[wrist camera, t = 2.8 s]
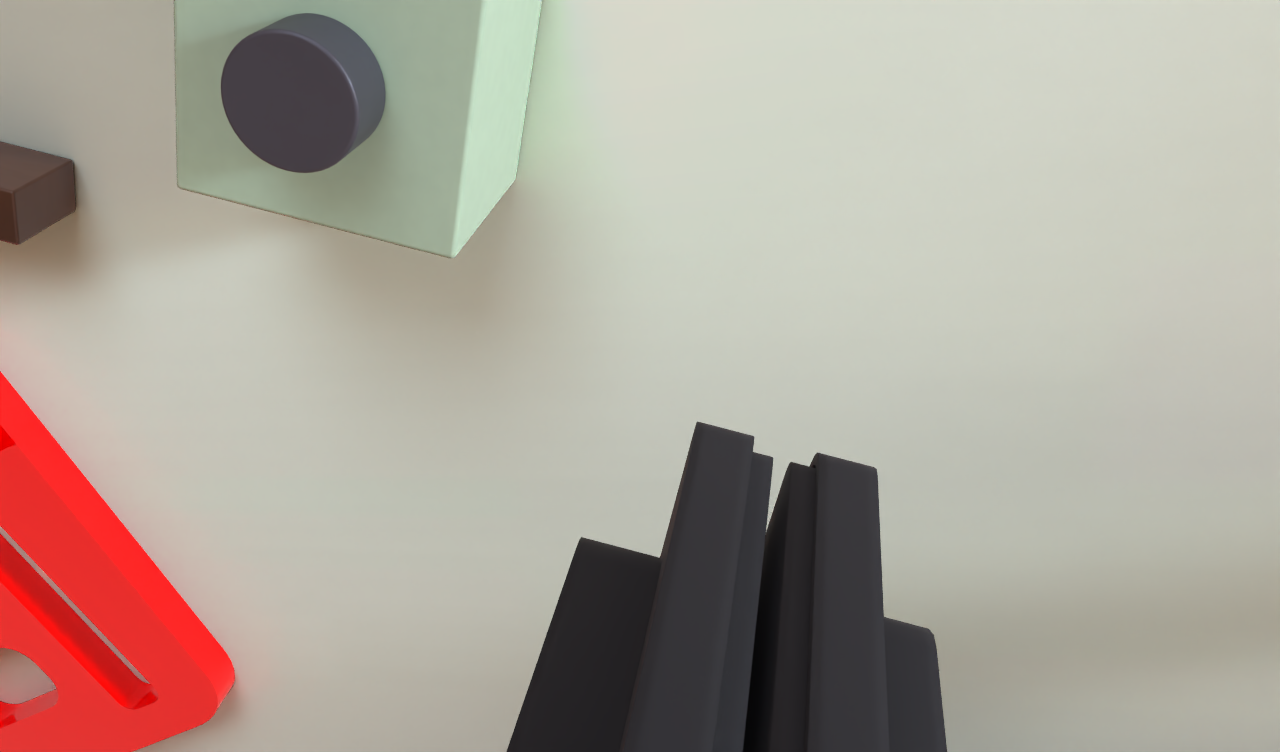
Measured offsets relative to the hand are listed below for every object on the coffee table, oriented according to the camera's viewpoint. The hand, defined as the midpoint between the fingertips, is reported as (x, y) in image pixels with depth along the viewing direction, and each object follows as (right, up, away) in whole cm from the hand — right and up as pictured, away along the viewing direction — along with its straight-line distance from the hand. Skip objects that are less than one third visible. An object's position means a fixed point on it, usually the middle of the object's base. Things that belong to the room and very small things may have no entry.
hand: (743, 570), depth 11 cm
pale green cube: (-5, +8, +11) cm, 15 cm away
